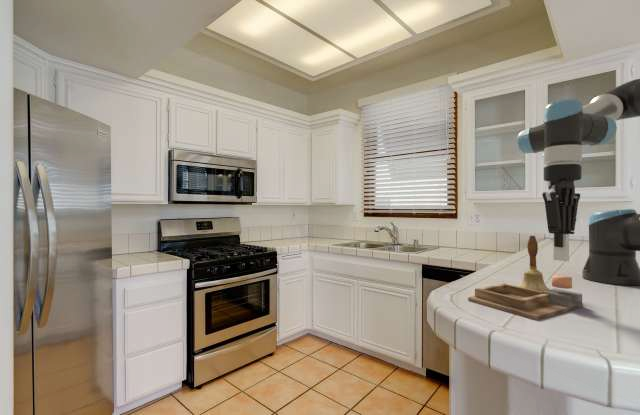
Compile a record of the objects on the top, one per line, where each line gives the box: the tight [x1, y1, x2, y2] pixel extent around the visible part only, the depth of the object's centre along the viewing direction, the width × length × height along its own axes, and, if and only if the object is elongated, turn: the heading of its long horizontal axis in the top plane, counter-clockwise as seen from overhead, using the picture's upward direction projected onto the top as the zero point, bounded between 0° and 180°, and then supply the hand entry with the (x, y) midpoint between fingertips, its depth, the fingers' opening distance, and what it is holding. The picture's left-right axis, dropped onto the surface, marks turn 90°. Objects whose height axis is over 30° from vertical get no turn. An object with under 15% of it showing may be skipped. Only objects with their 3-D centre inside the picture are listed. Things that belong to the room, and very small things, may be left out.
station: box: [467, 283, 584, 321], centre depth 83 cm, size 20×17×3 cm
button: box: [551, 274, 573, 290], centre depth 82 cm, size 4×4×2 cm
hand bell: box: [517, 235, 550, 292], centre depth 97 cm, size 8×8×16 cm
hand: (561, 260), depth 82 cm, fingers closed
